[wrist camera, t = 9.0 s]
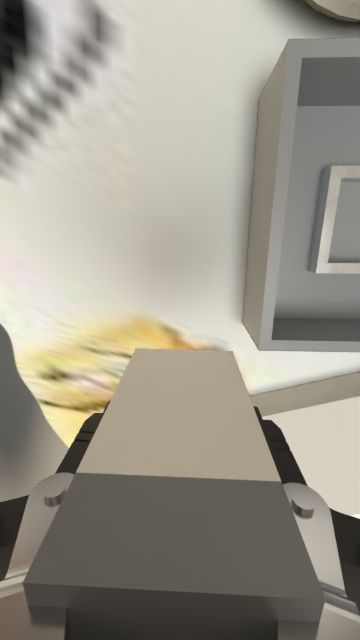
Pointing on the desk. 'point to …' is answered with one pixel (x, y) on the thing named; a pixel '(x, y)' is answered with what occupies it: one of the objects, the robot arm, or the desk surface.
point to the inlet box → (307, 202)
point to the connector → (176, 515)
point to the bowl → (337, 9)
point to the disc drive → (322, 435)
